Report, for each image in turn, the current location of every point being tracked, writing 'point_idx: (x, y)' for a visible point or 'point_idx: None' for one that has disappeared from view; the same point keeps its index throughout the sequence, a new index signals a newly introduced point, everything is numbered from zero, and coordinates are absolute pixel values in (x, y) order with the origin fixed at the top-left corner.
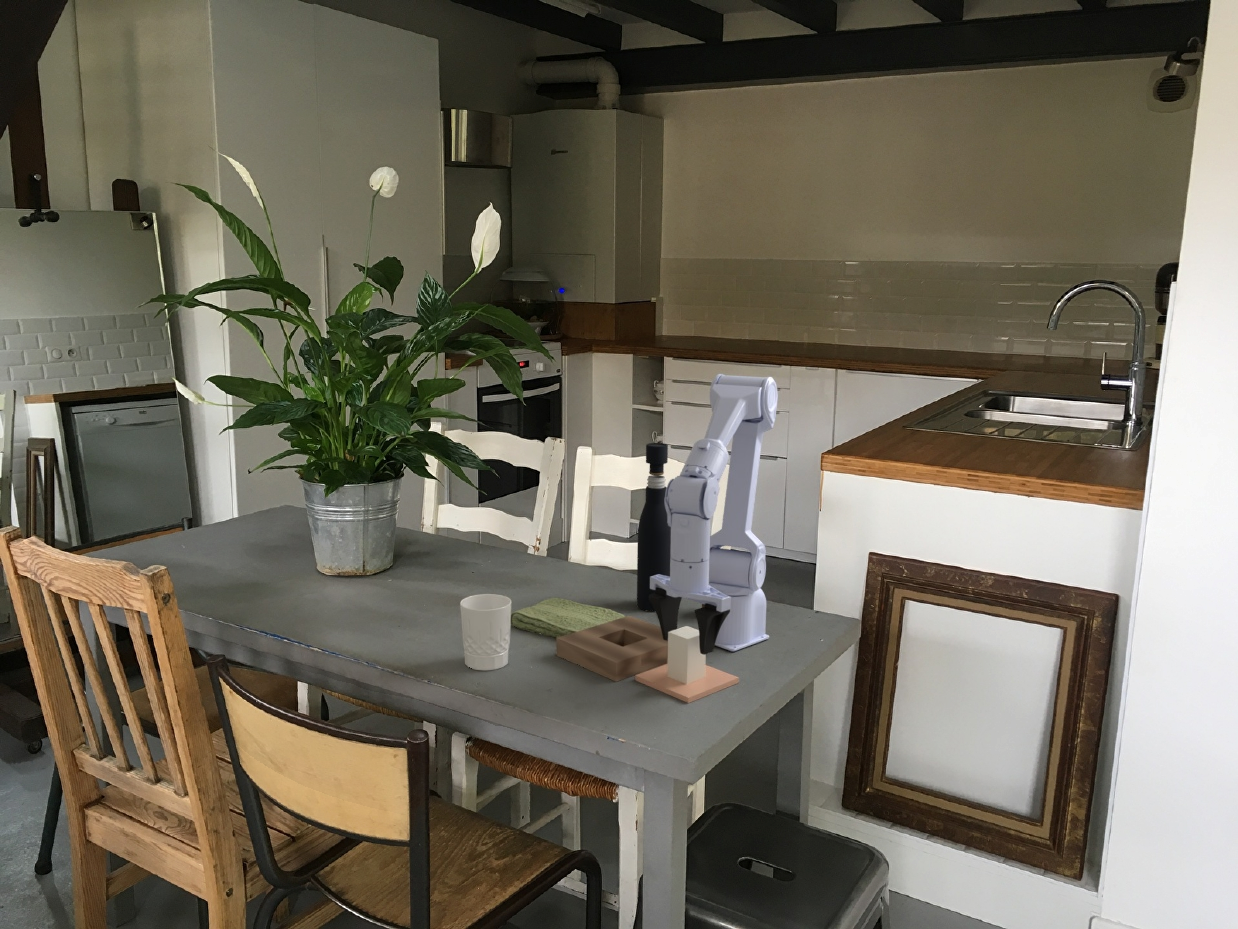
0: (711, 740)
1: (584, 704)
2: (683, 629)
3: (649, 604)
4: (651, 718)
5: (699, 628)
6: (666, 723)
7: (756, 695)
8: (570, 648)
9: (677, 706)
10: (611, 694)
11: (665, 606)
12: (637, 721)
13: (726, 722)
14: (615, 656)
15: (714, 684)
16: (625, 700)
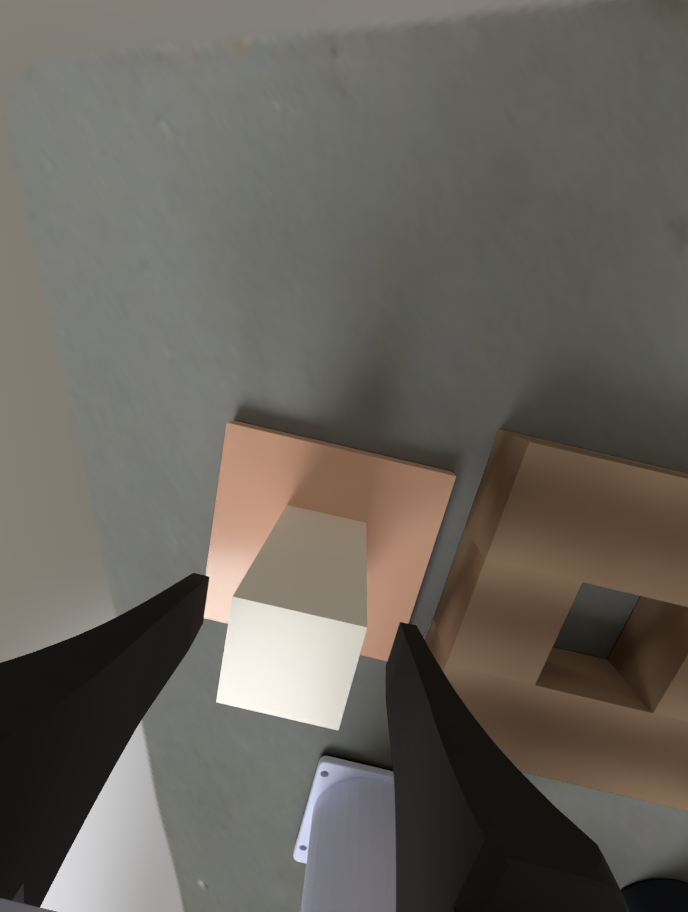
0: (34, 232)
1: (502, 205)
2: (323, 688)
3: (671, 909)
4: (257, 255)
5: (118, 648)
6: (201, 252)
7: (129, 564)
8: None
9: (246, 383)
10: (463, 337)
11: (437, 810)
12: (279, 203)
13: (81, 370)
14: (562, 492)
15: (223, 544)
16: (399, 324)
